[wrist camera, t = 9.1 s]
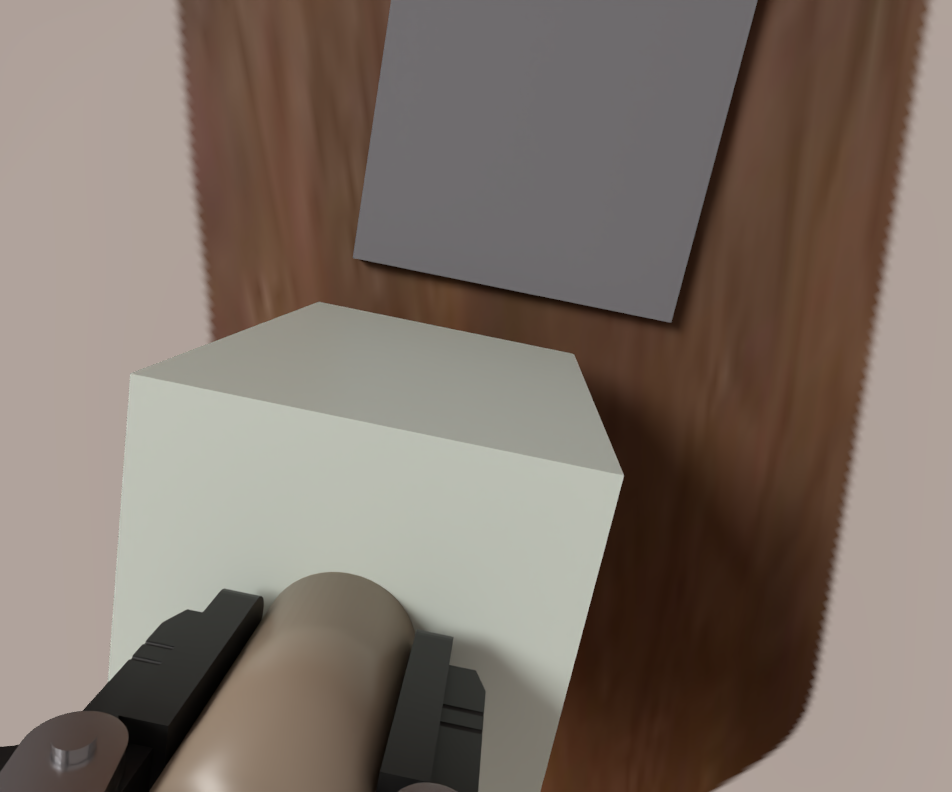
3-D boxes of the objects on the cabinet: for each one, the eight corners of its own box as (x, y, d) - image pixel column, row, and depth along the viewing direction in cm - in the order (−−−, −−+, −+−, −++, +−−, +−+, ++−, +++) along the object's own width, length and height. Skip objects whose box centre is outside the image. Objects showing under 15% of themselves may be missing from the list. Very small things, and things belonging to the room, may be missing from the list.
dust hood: (318, 301, 24) (-119, 468, 8) (573, 353, 24) (690, 638, 7) (286, 535, 26) (-108, 1057, 10) (519, 584, 26) (518, 1195, 10)
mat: (410, -100, 23) (407, -108, 23) (761, -31, 23) (767, -37, 23) (356, 257, 26) (352, 257, 26) (667, 320, 26) (671, 322, 26)
